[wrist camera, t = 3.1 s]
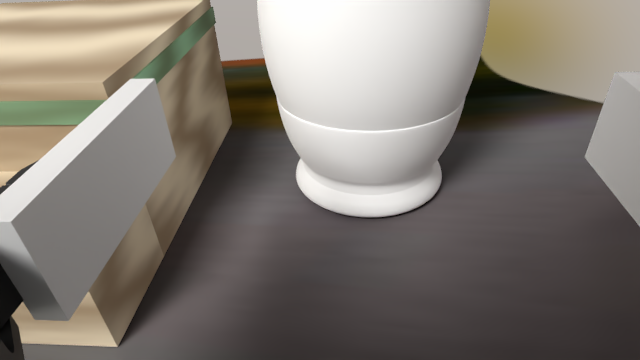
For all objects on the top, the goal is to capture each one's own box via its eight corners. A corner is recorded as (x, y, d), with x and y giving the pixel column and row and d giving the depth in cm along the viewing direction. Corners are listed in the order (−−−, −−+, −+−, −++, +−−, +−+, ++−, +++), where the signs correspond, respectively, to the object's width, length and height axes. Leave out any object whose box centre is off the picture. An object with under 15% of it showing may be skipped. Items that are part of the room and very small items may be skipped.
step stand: (120, 346, 17) (19, 152, 12) (-200, 334, 19) (-413, 154, 13) (233, 122, 33) (210, -5, 28) (56, 123, 34) (2, 2, 29)
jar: (457, 140, 29) (498, -138, 21) (463, 246, 21) (536, -141, 12) (303, 129, 31) (283, -125, 23) (254, 222, 23) (194, -120, 15)
